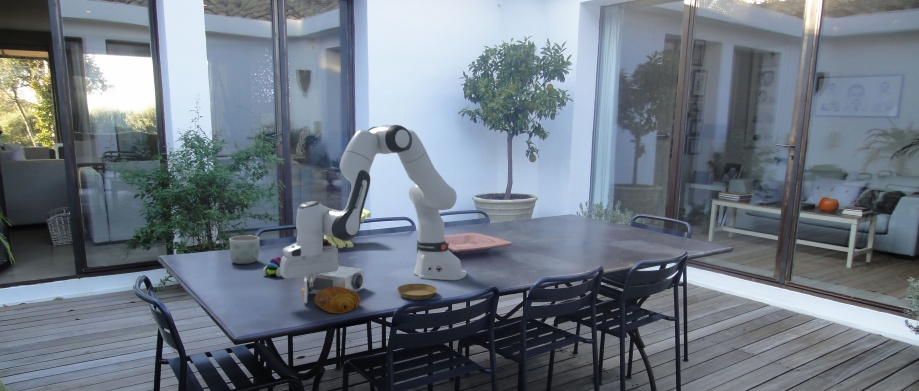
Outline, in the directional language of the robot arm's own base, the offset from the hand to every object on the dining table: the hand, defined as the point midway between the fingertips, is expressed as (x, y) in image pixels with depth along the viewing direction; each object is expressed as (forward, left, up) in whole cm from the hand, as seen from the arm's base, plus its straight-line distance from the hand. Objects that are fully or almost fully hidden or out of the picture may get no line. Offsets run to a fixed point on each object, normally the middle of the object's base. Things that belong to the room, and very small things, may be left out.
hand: (310, 286), depth 194 cm
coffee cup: (+15, -29, -5) cm, 33 cm away
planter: (+57, -35, -5) cm, 67 cm away
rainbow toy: (+32, -23, -5) cm, 39 cm away
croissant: (-13, +3, -5) cm, 14 cm away
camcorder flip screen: (+3, -1, -5) cm, 5 cm away
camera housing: (-2, -14, -5) cm, 15 cm away
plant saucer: (-32, -21, -5) cm, 39 cm away
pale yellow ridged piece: (+40, -85, -5) cm, 94 cm away
